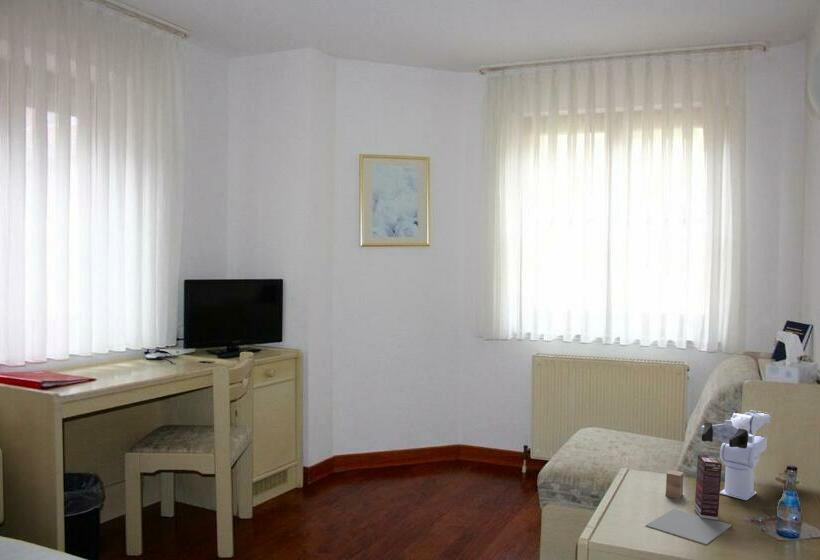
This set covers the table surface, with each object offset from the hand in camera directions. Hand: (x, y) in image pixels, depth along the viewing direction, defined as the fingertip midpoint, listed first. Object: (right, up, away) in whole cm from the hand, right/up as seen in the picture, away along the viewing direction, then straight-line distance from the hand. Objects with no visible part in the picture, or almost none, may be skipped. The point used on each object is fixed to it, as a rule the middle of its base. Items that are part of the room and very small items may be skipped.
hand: (716, 440), depth 196 cm
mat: (-13, -20, -12) cm, 27 cm away
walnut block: (-7, -20, +12) cm, 24 cm away
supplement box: (-4, -20, -3) cm, 21 cm away
